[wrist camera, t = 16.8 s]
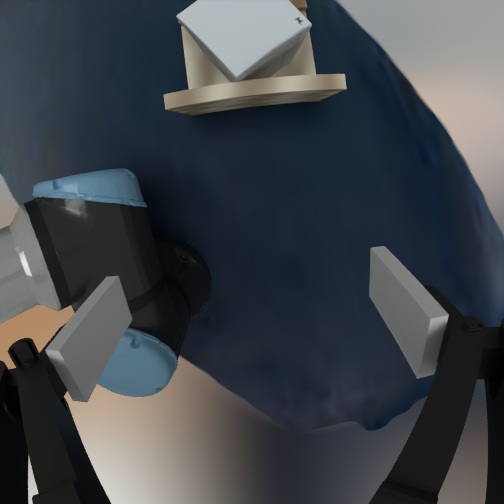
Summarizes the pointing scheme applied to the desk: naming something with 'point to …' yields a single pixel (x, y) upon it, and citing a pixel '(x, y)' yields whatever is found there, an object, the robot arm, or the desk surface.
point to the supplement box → (246, 35)
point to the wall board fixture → (250, 82)
